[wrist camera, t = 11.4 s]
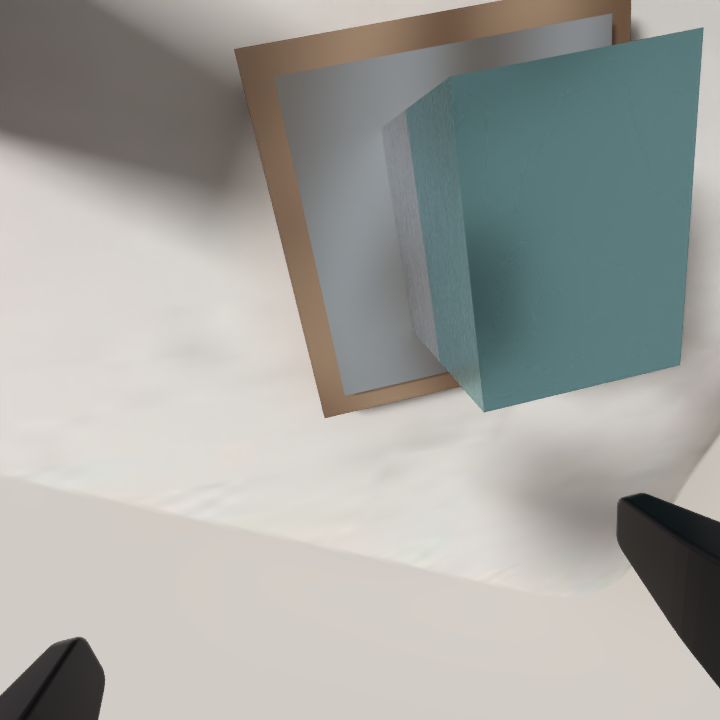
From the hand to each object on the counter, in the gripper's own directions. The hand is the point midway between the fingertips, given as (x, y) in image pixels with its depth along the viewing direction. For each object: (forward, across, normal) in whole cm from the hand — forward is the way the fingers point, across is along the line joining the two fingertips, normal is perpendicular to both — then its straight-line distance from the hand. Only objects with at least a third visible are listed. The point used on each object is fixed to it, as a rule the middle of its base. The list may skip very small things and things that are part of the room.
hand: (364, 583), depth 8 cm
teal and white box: (+10, -6, -4) cm, 13 cm away
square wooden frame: (+13, -6, -4) cm, 15 cm away
